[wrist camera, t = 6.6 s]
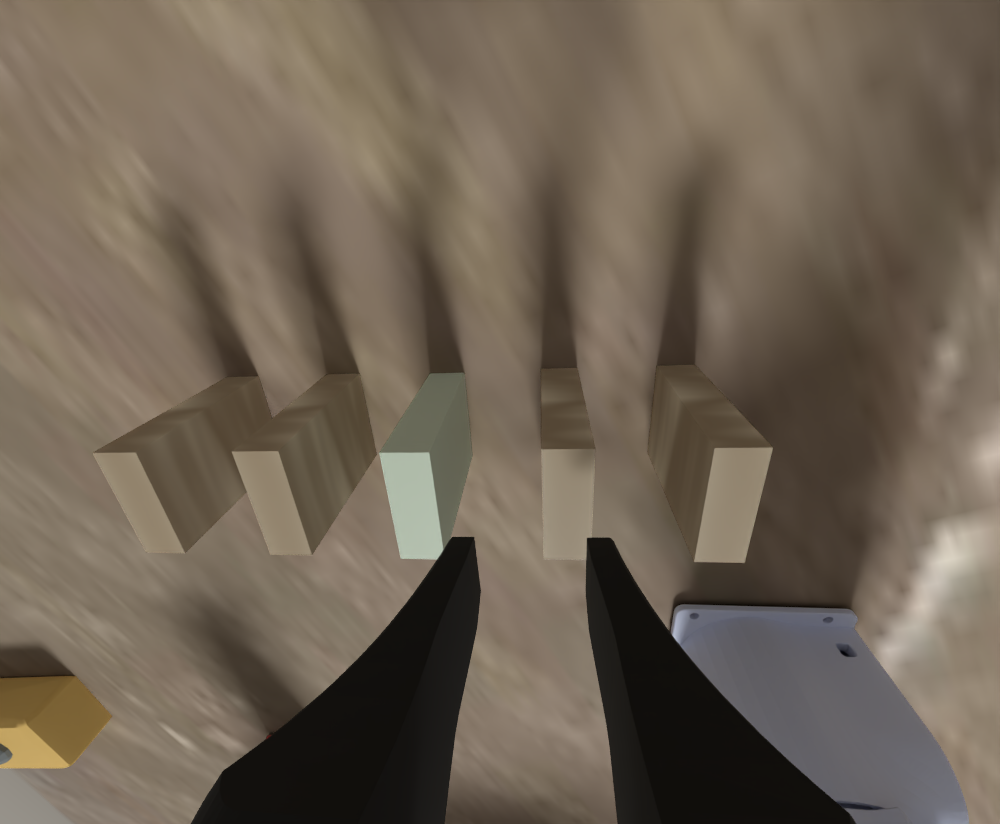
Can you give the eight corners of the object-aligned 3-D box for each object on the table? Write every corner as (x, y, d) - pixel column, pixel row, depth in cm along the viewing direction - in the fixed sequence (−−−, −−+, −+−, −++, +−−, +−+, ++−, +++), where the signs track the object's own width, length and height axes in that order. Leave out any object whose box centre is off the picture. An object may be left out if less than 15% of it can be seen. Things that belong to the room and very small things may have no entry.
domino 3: (464, 372, 20) (429, 452, 13) (472, 455, 22) (444, 559, 15) (429, 373, 20) (379, 452, 14) (440, 455, 22) (400, 558, 15)
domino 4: (577, 367, 19) (595, 449, 13) (575, 453, 21) (590, 560, 15) (541, 368, 19) (541, 449, 13) (542, 453, 21) (543, 559, 15)
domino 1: (258, 376, 21) (135, 452, 14) (283, 455, 23) (185, 552, 16) (227, 377, 21) (92, 452, 15) (254, 455, 23) (146, 552, 16)
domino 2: (359, 373, 20) (278, 451, 14) (376, 454, 22) (311, 555, 16) (326, 374, 20) (231, 451, 14) (346, 454, 22) (270, 554, 16)
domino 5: (694, 364, 19) (773, 447, 12) (682, 452, 21) (744, 563, 14) (656, 365, 19) (714, 447, 13) (647, 452, 21) (693, 561, 14)
